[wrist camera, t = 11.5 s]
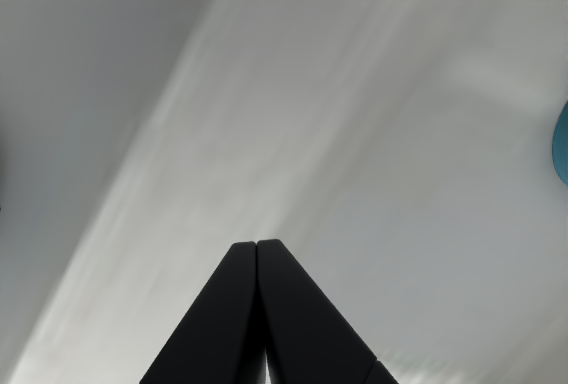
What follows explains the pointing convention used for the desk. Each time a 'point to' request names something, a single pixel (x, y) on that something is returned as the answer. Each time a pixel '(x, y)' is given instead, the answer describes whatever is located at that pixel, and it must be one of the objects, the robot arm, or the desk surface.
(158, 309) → the desk surface
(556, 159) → the teal jar
